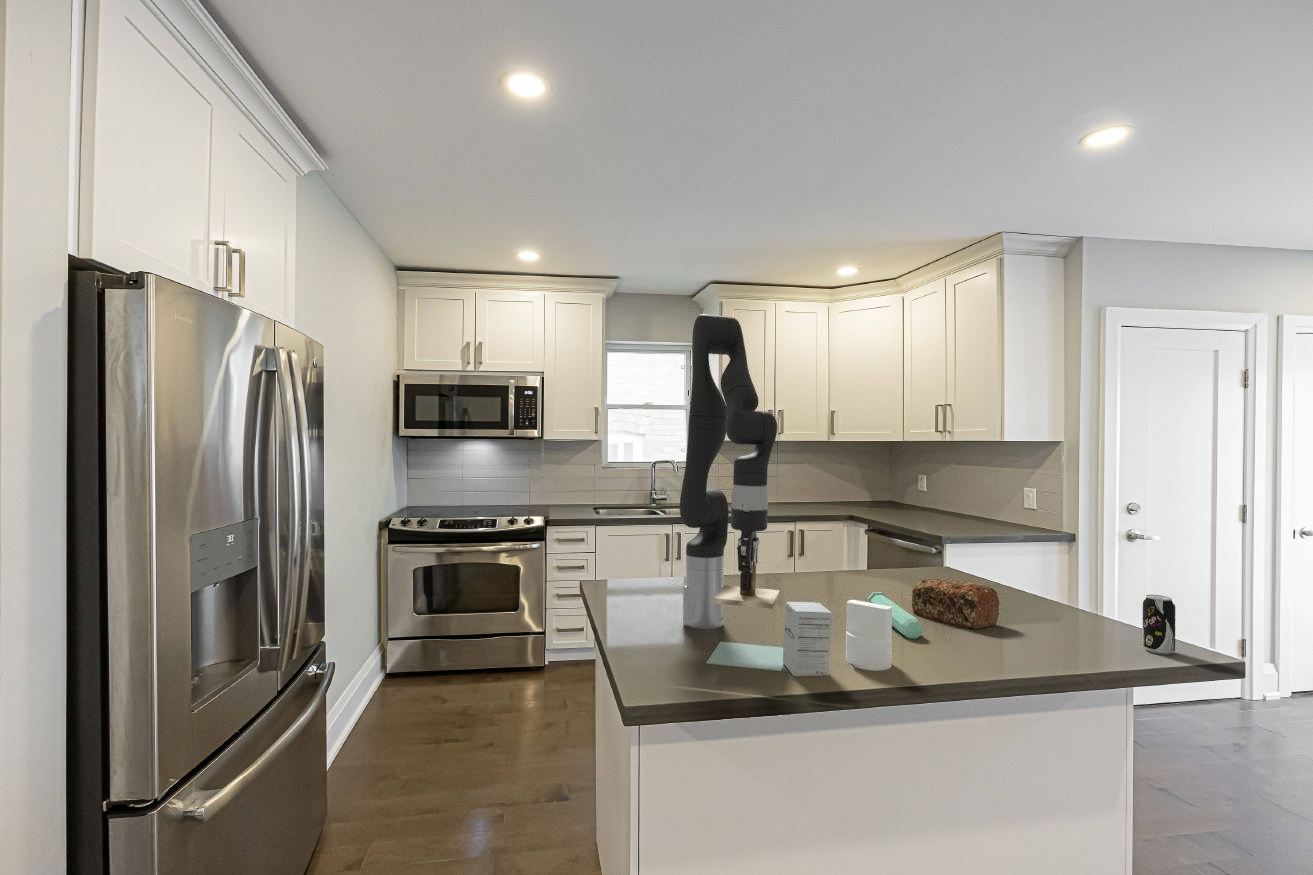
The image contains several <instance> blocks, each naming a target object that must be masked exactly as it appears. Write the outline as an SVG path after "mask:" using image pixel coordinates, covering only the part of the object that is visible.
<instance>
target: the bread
mask: <svg viewBox="0 0 1313 875" xmlns="http://www.w3.org/2000/svg"><path fill="white" fill-rule="evenodd" d="M911 609H912V612H913V614H915V615H917V616H922V617H924V618H929V619H931V620H937V621H940V622H943V623H948V624H952V623H953V624H952V625H956V626H959V627H964V628H970V629H978V630H979V629H984V628H988V627H994V626H996V625H997V623H998V619H999V615H1000V614H999V610H1000V599H999V596H998V591H996V590H995V589H994V588H992V587H991V586H988V585H986V584H979V583H973V582H969V581H964V580H963V581H959V580H951V579H944V578H926V579H922V580H920V581H919V582H918V583H917V584H915V585H914V586H913V588H912V590H911Z"/></svg>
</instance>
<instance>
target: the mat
mask: <svg viewBox="0 0 1313 875" xmlns="http://www.w3.org/2000/svg"><path fill="white" fill-rule="evenodd" d="M706 664H710V665H719V666H729V667H737V668H738V667H739V668H750V669H759V670H766V671H767V670H769V671H776V672H777V671H778V672H782V671H783V667H784V665H785V664H784V663H783V647H781V646H772V645H771V646H769V645H761V644H760V645H759V644H758V645H757V644H750V643H749V644H748V643H741V642H740V643H739V642H737V643H736V642H729V641H728V642H727V641H720V642H718V644H717V646H716V648H715V649H714V651H713V652H712V653H711V655H710V657H708V659H707V661H706Z"/></svg>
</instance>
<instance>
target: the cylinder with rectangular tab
mask: <svg viewBox="0 0 1313 875" xmlns="http://www.w3.org/2000/svg"><path fill="white" fill-rule="evenodd" d="M845 607H846V611H845V612H846V617H845V618H846V621H845V622H846V626H845V628H846V629H845V660H846V662H848V663H849V664H851V665H853V666H852V667H853V668H856V669H861V670H865V671H885V670H888V669H890V668H892V665H893V664H892V663H893V662H892V660H893V659H892V656H893V654H892V652H893V626H892V607H891V606H886V605H880V604H874V603H869V602H867V601H862V600H858V599H850V600H847V601H846V606H845Z"/></svg>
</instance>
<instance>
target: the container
mask: <svg viewBox="0 0 1313 875" xmlns="http://www.w3.org/2000/svg"><path fill="white" fill-rule="evenodd" d="M866 600H867V601H866V602H869V603H874V604H880V605H886V606H891V607H892V628H894V629H896V630H897V631H898V632H899V633H900V634H902V635H903V636H904V637H906V638H907V639H918V638H919V637H920V636H921V635H922V634H923V624H922V623H921V621H920V620H919V619H917V618H916V617H915V616H913V615H912V614H910V613H909V612H907V610H905V609H903V608H902V607H901V606H899V604H896V603H895V602H893V601H892V600H890V599H889V598H888V597H887V596H886V594H885V593H883V592H882V591H881V592H880V591H873V592H872V593H871V594H870V595H869V596H868V597H867V598H866Z"/></svg>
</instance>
